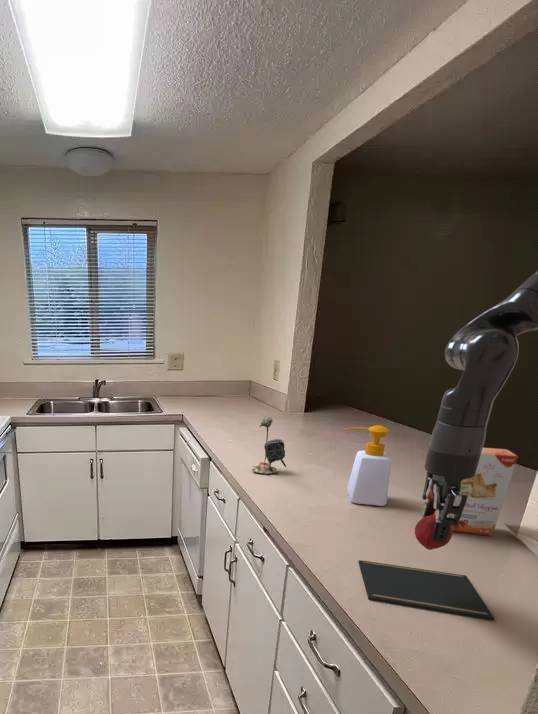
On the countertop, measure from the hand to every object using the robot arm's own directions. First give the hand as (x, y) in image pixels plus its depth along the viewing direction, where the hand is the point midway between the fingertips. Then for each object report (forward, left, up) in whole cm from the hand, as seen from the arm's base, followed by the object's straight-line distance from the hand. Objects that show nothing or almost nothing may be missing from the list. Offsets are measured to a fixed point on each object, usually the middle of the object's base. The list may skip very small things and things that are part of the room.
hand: (433, 532), depth 82 cm
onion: (0, 0, -4) cm, 4 cm away
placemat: (0, 0, -12) cm, 12 cm away
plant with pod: (+31, -62, -13) cm, 71 cm away
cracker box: (-16, -32, -13) cm, 38 cm away
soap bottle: (+5, -45, -13) cm, 47 cm away
